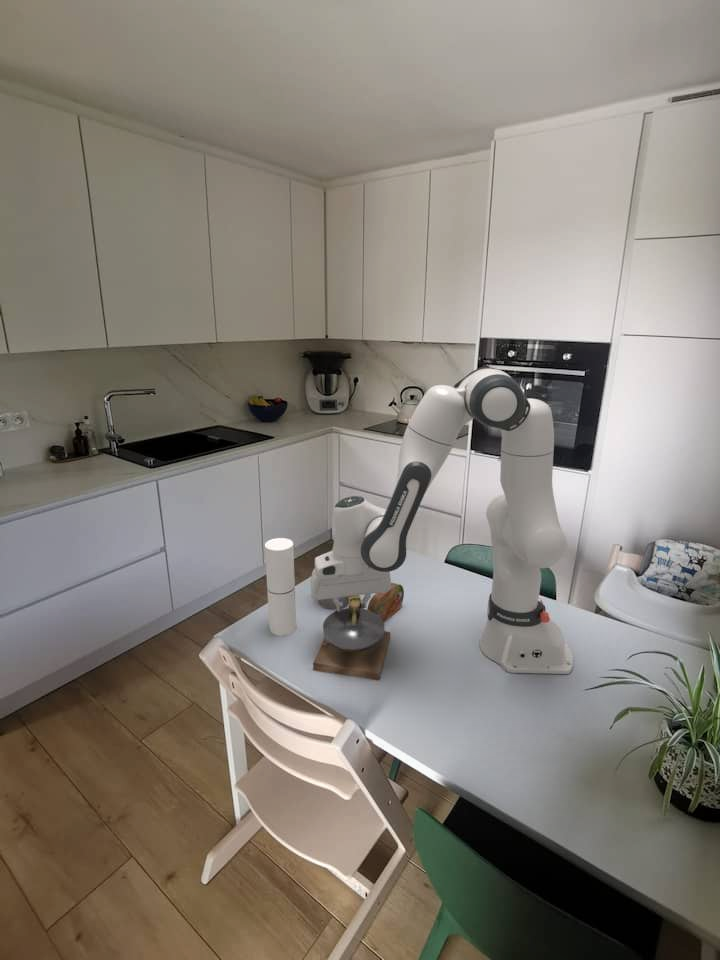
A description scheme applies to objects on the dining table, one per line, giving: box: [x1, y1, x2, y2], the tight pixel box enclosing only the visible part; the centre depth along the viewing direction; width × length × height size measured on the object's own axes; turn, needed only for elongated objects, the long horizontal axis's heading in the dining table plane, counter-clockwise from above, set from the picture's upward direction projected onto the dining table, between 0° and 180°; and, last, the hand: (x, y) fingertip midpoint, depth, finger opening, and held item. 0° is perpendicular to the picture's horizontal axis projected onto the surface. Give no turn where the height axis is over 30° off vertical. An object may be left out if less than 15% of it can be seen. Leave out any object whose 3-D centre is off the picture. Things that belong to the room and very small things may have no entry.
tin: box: [366, 582, 405, 623], centre depth 139 cm, size 15×3×8 cm, turn 143°
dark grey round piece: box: [322, 595, 385, 652], centre depth 122 cm, size 15×15×6 cm
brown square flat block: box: [312, 630, 391, 681], centre depth 124 cm, size 16×16×6 cm
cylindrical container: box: [264, 537, 297, 637], centre depth 130 cm, size 7×7×25 cm
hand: (351, 608), depth 127 cm, fingers open, 4 cm apart
